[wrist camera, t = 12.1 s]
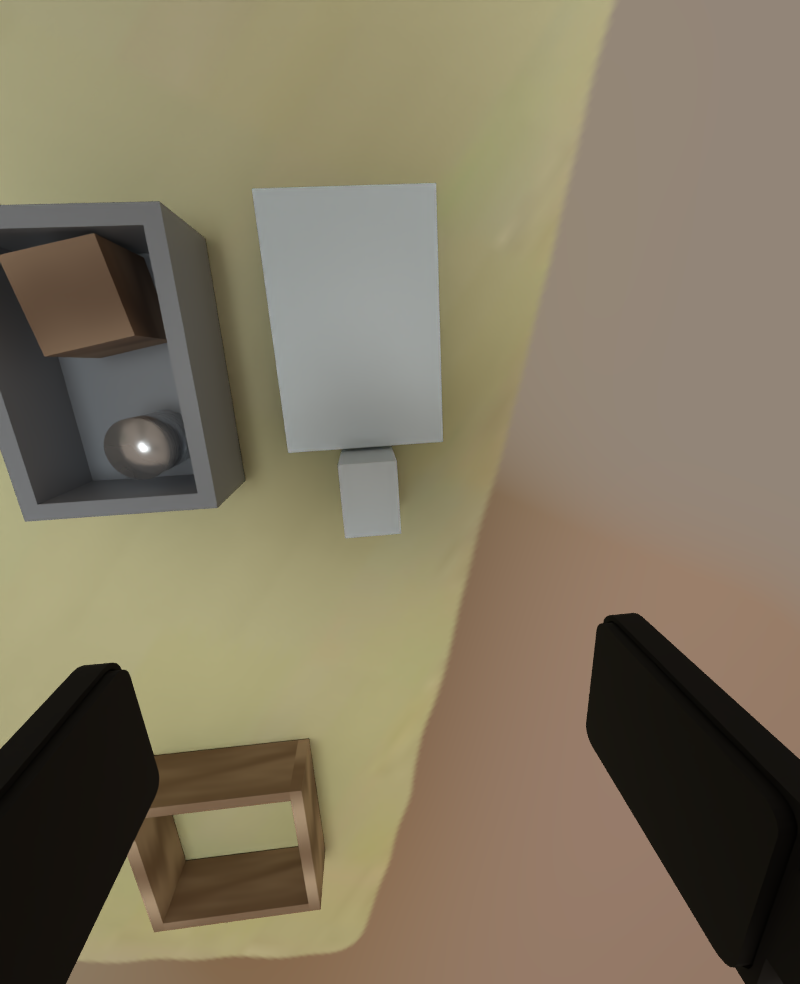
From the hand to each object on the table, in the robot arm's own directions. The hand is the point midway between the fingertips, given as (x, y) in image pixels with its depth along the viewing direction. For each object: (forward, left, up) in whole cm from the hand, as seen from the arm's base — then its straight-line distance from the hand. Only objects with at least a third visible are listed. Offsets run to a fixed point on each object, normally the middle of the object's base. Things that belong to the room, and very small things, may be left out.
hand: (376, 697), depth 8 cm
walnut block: (-10, -12, -17) cm, 23 cm away
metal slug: (-3, -11, -17) cm, 21 cm away
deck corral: (+26, -12, -18) cm, 34 cm away
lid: (-6, 0, -18) cm, 19 cm away
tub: (-7, -12, -18) cm, 23 cm away
